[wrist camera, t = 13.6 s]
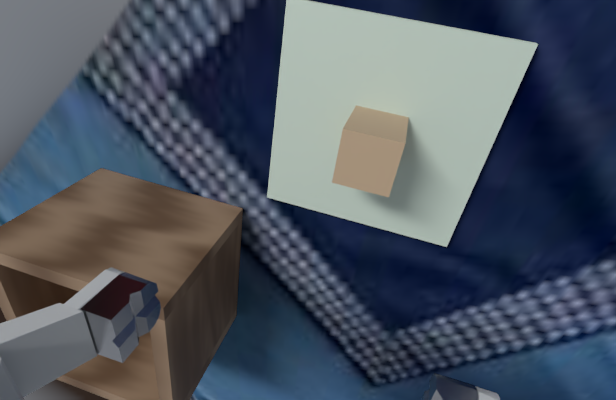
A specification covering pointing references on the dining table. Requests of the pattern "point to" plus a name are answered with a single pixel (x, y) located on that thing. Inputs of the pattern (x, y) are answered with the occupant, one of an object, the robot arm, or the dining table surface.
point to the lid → (387, 116)
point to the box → (137, 261)
